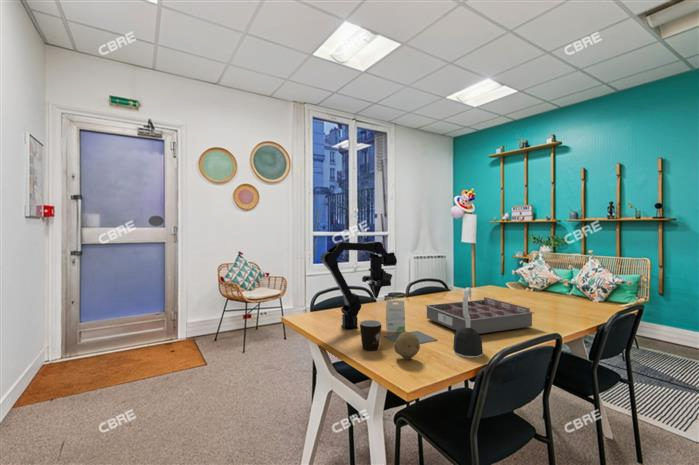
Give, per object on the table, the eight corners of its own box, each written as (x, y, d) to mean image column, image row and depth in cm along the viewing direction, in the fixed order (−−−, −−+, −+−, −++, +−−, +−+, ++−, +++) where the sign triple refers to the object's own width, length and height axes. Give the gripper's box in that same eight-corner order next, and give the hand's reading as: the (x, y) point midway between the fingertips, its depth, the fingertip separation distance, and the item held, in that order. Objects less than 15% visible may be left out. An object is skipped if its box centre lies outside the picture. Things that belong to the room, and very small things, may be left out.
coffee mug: (366, 353, 127) (366, 327, 127) (355, 346, 135) (355, 321, 134) (391, 348, 132) (392, 323, 132) (380, 342, 140) (380, 318, 140)
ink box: (404, 329, 158) (404, 298, 157) (405, 332, 153) (405, 300, 153) (385, 329, 158) (386, 298, 158) (386, 332, 153) (386, 300, 153)
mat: (402, 346, 134) (402, 345, 134) (384, 336, 147) (384, 335, 147) (437, 340, 142) (437, 339, 142) (417, 331, 155) (417, 330, 155)
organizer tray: (424, 320, 174) (424, 301, 174) (484, 313, 189) (484, 296, 189) (466, 339, 144) (466, 316, 144) (534, 329, 159) (534, 308, 159)
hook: (456, 345, 136) (456, 284, 136) (485, 350, 130) (485, 286, 130) (449, 354, 126) (449, 288, 126) (480, 360, 120) (480, 291, 120)
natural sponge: (423, 364, 117) (423, 335, 117) (398, 365, 116) (398, 336, 116) (416, 354, 126) (416, 328, 126) (392, 355, 125) (392, 328, 125)
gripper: (400, 267, 161) (400, 300, 161) (380, 264, 178) (380, 293, 178) (380, 269, 156) (380, 302, 156) (361, 265, 173) (361, 295, 173)
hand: (376, 298), depth 166 cm, fingers closed
